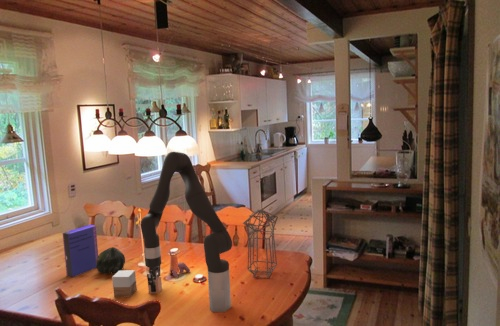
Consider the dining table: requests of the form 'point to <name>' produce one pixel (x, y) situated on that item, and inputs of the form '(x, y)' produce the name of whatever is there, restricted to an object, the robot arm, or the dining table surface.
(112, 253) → the squash
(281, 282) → the dining table surface
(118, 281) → the tower top
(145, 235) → the robot arm
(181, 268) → the video game controller
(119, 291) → the tower bottom
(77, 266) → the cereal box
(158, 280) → the beige block
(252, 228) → the geometric lantern
